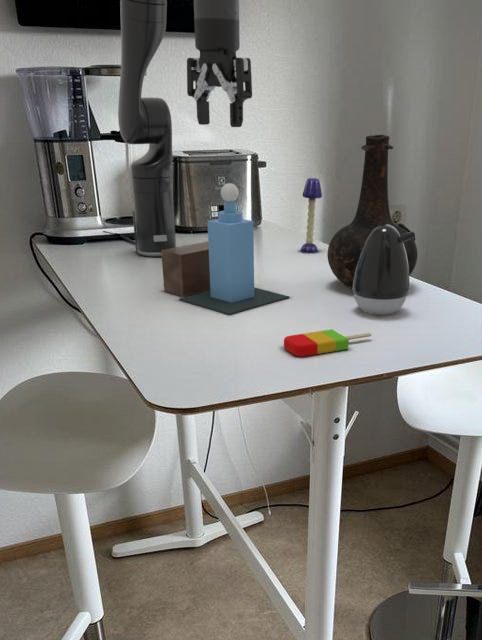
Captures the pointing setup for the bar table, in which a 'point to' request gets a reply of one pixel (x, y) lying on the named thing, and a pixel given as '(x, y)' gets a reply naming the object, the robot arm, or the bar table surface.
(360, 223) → the glass bottle
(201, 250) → the block
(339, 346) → the popsicle
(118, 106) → the robot arm
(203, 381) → the bar table surface
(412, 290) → the bar table surface
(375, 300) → the pump dispenser
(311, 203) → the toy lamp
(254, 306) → the mat
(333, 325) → the bar table surface
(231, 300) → the bottle
